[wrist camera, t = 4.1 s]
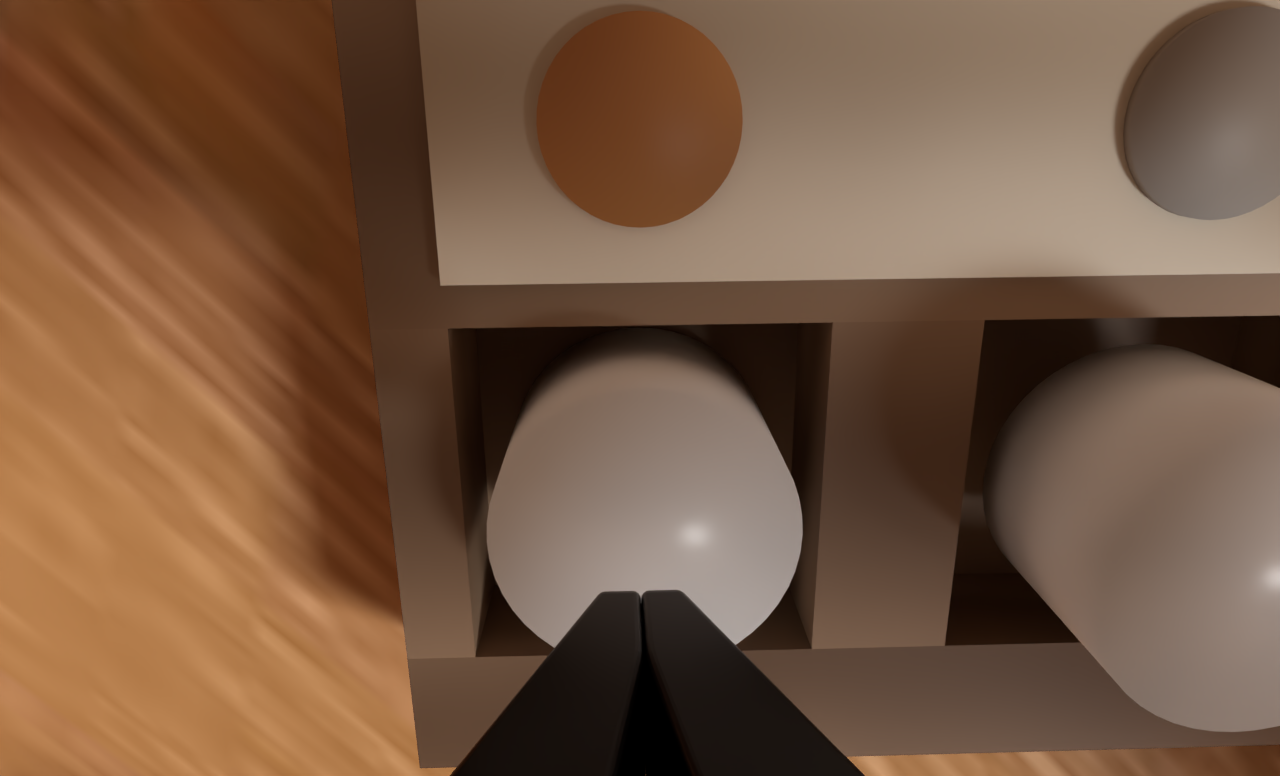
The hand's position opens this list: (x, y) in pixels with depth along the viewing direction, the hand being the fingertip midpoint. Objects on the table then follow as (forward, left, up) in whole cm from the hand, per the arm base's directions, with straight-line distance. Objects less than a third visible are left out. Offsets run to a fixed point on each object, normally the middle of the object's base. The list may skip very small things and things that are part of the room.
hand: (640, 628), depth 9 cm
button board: (+1, -7, -6) cm, 9 cm away
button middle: (0, -7, -4) cm, 8 cm away
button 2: (0, 0, -5) cm, 5 cm away
